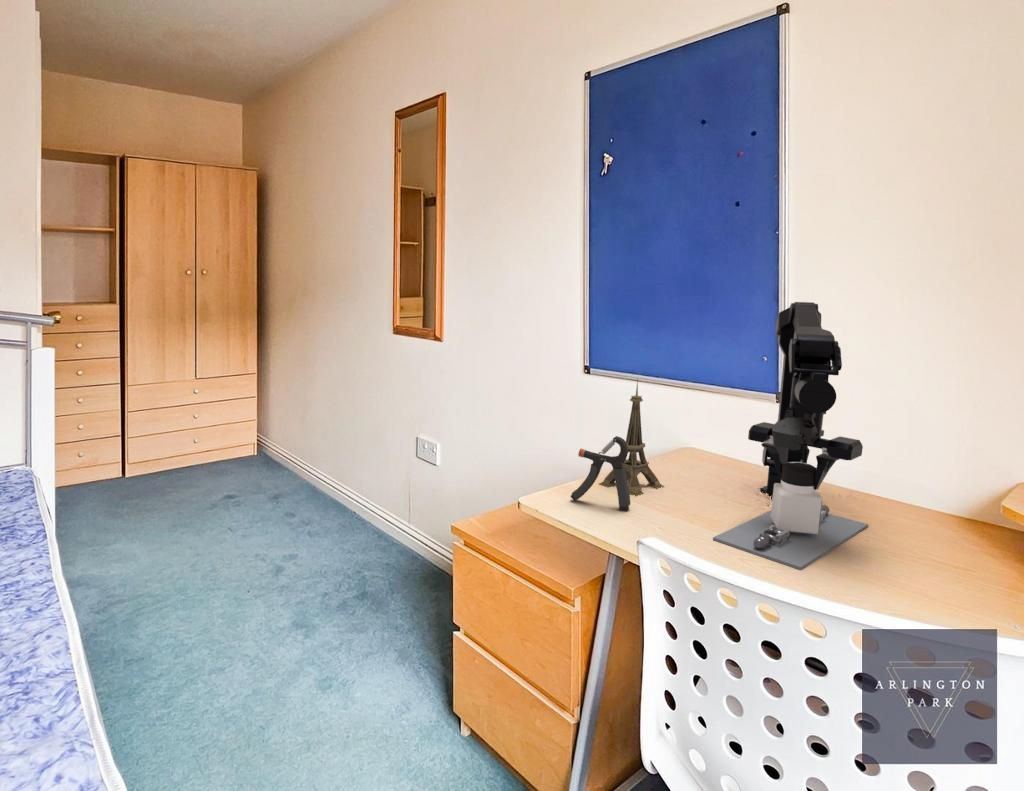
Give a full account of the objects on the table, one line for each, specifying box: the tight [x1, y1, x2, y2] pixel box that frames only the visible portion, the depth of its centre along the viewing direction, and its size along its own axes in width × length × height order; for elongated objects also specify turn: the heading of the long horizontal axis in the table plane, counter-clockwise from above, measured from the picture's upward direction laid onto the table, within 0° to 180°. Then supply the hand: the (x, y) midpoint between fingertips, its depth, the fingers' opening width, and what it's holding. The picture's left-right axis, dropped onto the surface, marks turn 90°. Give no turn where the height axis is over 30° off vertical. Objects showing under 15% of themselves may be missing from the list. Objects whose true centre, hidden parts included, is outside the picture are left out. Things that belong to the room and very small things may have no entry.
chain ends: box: [753, 504, 830, 550], centre depth 122 cm, size 29×4×2 cm, turn 132°
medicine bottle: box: [770, 462, 823, 534], centre depth 121 cm, size 7×7×12 cm
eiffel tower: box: [598, 377, 665, 497], centre depth 146 cm, size 11×11×25 cm
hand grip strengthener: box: [570, 435, 631, 512], centre depth 133 cm, size 2×12×15 cm, turn 65°
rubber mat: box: [712, 509, 869, 571], centre depth 122 cm, size 30×16×1 cm, turn 132°
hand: (798, 485), depth 121 cm, fingers closed on medicine bottle, 6 cm apart
